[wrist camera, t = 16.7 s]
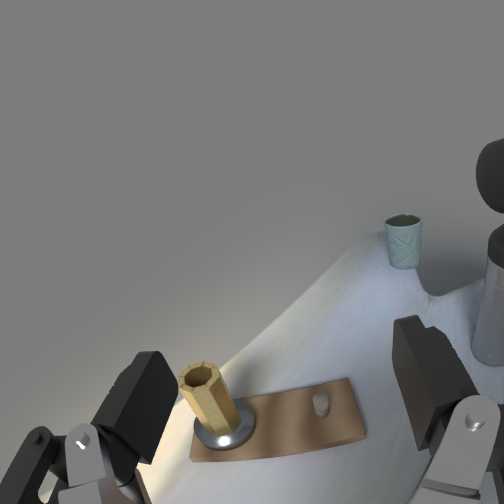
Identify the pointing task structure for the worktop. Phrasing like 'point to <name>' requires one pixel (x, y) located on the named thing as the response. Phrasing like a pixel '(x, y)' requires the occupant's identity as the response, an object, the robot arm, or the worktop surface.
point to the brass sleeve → (209, 398)
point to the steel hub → (230, 440)
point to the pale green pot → (404, 239)
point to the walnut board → (294, 424)
